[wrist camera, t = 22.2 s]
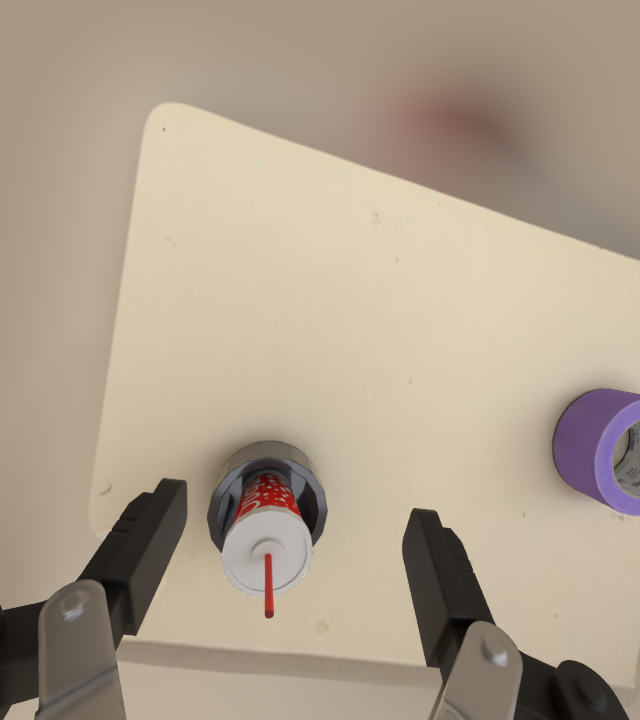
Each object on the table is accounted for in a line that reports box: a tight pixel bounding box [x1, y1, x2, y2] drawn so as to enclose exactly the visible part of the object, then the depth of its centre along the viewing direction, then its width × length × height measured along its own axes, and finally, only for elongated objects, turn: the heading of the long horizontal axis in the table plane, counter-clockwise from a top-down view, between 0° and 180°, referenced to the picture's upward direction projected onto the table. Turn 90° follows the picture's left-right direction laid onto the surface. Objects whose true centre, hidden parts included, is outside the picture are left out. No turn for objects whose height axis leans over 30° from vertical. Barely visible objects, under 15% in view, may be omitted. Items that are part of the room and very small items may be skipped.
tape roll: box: [553, 389, 640, 516], centre depth 36 cm, size 12×12×5 cm
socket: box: [207, 441, 328, 553], centre depth 31 cm, size 10×10×4 cm
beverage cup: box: [221, 470, 313, 618], centre depth 25 cm, size 6×6×14 cm
